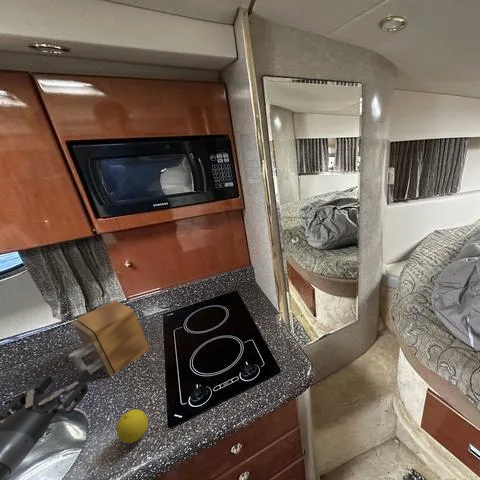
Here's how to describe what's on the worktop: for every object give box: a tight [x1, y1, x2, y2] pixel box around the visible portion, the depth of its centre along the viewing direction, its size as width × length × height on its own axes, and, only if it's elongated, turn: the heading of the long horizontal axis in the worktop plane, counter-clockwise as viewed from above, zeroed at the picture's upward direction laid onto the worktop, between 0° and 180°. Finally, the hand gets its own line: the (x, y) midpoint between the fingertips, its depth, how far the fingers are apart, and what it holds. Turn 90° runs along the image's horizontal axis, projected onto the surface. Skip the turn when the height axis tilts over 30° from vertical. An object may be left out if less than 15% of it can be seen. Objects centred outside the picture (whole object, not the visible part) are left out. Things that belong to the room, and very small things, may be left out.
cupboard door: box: [68, 319, 115, 377], centre depth 71 cm, size 6×12×16 cm, turn 61°
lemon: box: [116, 408, 149, 444], centre depth 56 cm, size 6×6×8 cm
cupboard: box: [76, 299, 151, 374], centre depth 78 cm, size 10×12×16 cm
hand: (68, 375), depth 65 cm, fingers open, 8 cm apart
